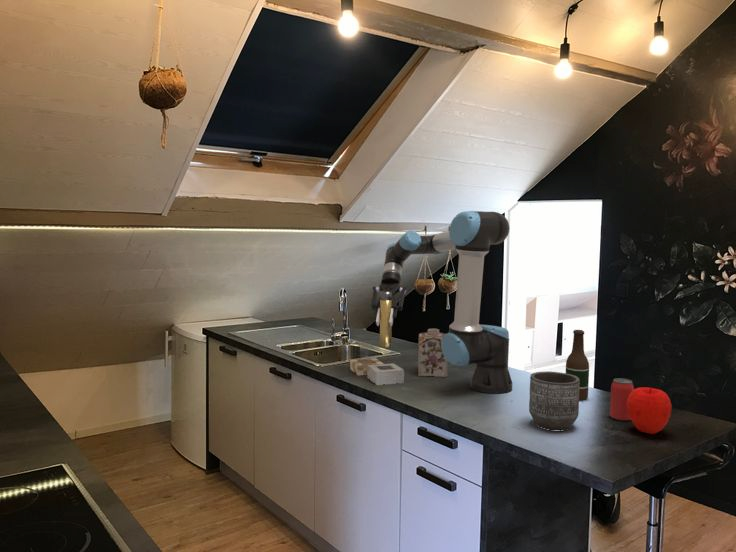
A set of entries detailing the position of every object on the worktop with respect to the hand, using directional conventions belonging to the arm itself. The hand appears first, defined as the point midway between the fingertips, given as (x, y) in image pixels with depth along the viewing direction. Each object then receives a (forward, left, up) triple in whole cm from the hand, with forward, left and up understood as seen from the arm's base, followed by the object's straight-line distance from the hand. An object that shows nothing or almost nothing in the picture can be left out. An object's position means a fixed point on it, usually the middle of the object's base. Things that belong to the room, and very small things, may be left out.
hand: (384, 323), depth 224 cm
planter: (-60, -33, -23) cm, 72 cm away
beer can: (-60, -58, -23) cm, 86 cm away
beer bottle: (-38, -58, -23) cm, 73 cm away
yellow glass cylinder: (+3, -2, -9) cm, 10 cm away
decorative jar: (+8, -24, -23) cm, 34 cm away
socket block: (+3, -2, -23) cm, 23 cm away
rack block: (+19, +1, -23) cm, 29 cm away
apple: (-73, -56, -23) cm, 95 cm away
